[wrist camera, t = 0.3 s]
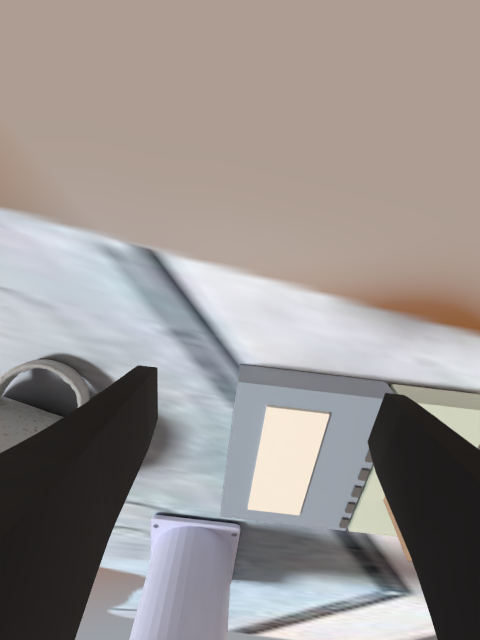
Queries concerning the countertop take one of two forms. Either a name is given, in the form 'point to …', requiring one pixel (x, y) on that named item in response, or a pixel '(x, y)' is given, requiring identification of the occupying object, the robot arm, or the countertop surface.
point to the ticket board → (299, 446)
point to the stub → (449, 407)
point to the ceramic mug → (24, 420)
